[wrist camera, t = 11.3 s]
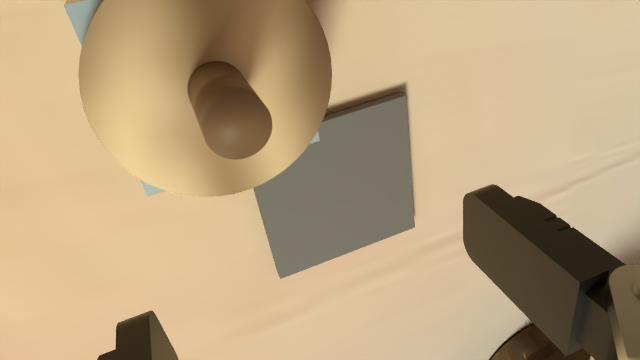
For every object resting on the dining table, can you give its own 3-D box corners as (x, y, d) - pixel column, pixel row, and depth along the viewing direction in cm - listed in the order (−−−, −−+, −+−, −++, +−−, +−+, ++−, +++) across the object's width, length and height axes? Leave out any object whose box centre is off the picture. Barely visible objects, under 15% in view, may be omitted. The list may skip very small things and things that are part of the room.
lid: (303, -74, 22) (357, -70, 17) (339, 150, 28) (385, 199, 23) (29, -15, 19) (-2, 10, 14) (137, 216, 26) (141, 288, 21)
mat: (400, 91, 34) (406, 95, 33) (410, 222, 40) (414, 227, 40) (240, 141, 31) (242, 147, 31) (277, 272, 38) (280, 278, 37)
